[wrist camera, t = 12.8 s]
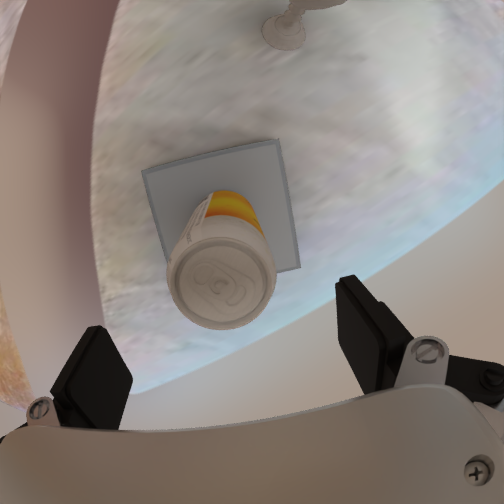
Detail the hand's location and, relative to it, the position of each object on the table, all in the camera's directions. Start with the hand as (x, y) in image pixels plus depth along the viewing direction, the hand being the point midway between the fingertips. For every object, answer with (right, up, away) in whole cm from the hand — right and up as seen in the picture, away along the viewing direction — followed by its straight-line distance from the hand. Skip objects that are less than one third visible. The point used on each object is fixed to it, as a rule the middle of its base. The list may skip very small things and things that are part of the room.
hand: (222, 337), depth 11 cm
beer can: (-2, +6, +18) cm, 20 cm away
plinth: (-2, +8, +22) cm, 23 cm away
